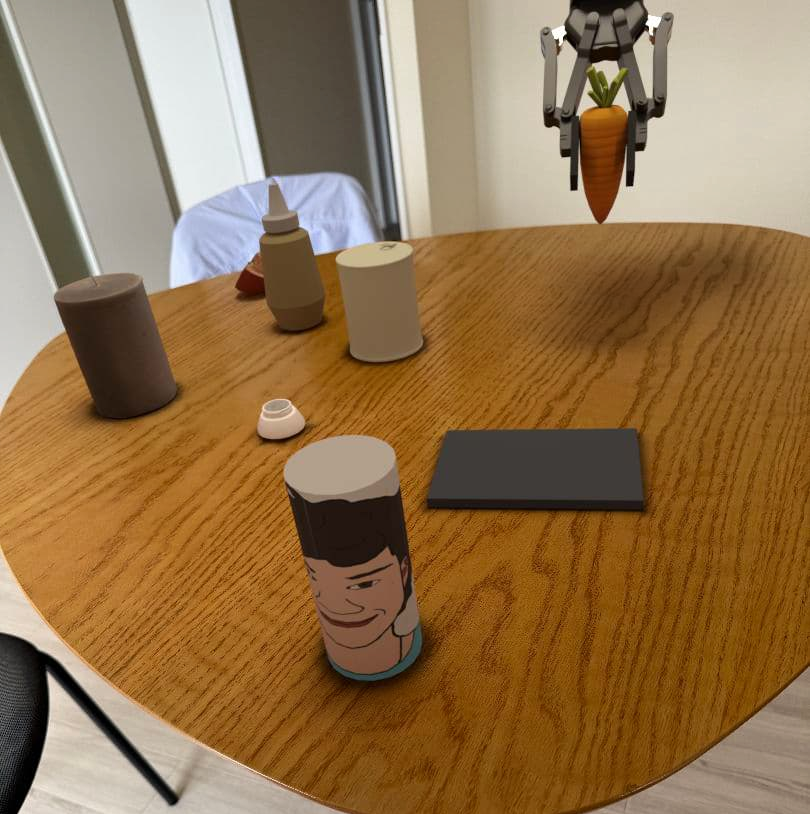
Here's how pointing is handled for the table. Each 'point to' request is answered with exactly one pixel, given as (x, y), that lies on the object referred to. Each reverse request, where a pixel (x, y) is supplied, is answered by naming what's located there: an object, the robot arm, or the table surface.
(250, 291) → the fruit slice
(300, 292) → the squeeze bottle
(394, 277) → the can
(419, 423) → the table surface
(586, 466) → the felt mat
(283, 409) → the lidless jar
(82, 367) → the pillar candle
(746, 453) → the table surface
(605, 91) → the carrot
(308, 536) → the printed cylindrical canister
